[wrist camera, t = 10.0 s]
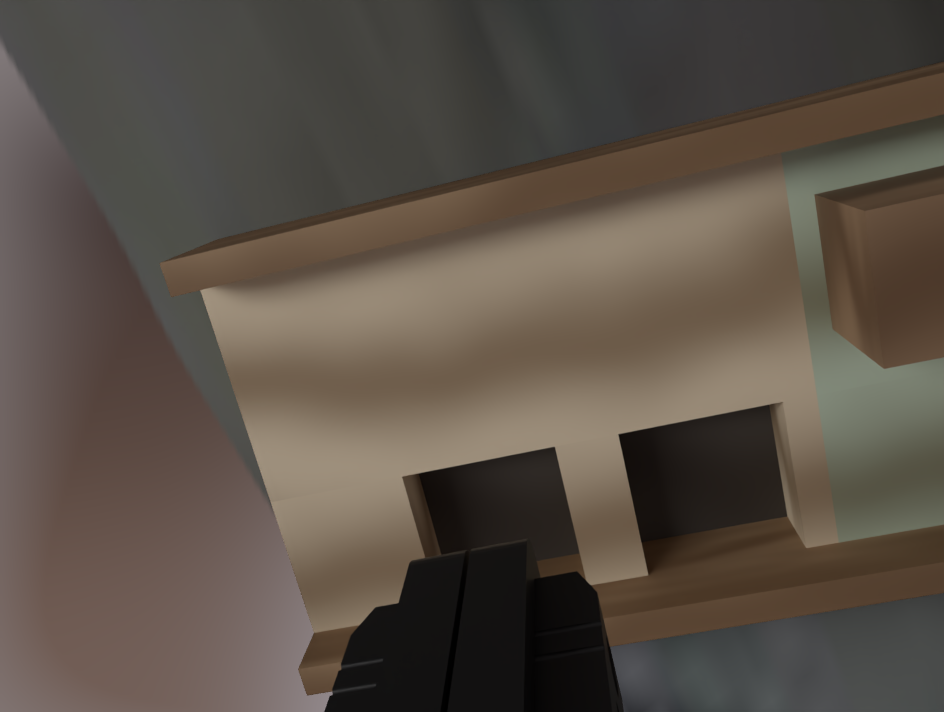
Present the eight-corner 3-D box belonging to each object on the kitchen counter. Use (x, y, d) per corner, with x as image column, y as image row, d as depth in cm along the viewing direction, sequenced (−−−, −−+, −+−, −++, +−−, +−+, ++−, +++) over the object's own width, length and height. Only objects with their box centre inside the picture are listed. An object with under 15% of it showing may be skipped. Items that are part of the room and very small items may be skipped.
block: (814, 194, 24) (864, 211, 20) (982, 156, 24) (1067, 166, 20) (832, 329, 25) (883, 368, 21) (994, 296, 25) (1077, 331, 21)
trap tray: (217, 239, 29) (159, 263, 24) (979, 52, 25) (1069, 42, 21) (338, 616, 32) (307, 695, 28) (1018, 498, 29) (1101, 567, 25)
